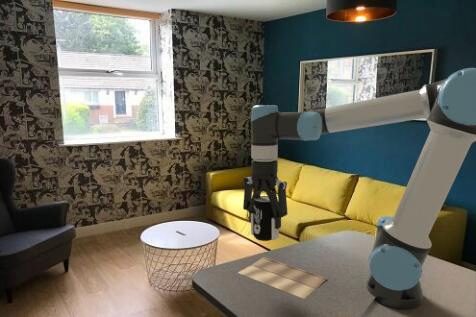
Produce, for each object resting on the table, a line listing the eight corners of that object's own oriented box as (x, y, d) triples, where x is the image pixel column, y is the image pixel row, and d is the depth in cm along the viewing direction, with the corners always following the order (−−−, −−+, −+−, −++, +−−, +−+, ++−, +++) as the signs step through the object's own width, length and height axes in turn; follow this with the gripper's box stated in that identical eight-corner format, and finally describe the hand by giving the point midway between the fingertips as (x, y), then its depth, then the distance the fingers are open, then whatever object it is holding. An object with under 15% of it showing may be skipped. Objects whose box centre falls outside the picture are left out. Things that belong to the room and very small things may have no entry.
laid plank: (316, 292, 106) (316, 288, 106) (304, 302, 101) (304, 299, 100) (251, 268, 121) (251, 264, 121) (237, 276, 116) (237, 272, 115)
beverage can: (274, 242, 103) (274, 201, 101) (252, 241, 104) (251, 200, 102) (276, 234, 109) (276, 195, 107) (255, 233, 110) (254, 195, 109)
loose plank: (326, 282, 112) (326, 278, 111) (316, 292, 106) (316, 288, 106) (263, 260, 127) (263, 256, 126) (251, 268, 121) (251, 264, 121)
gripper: (301, 160, 100) (300, 239, 104) (244, 155, 112) (245, 226, 115) (287, 164, 94) (287, 247, 98) (229, 158, 106) (231, 232, 110)
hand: (264, 235), depth 107 cm, fingers closed on beverage can, 7 cm apart
